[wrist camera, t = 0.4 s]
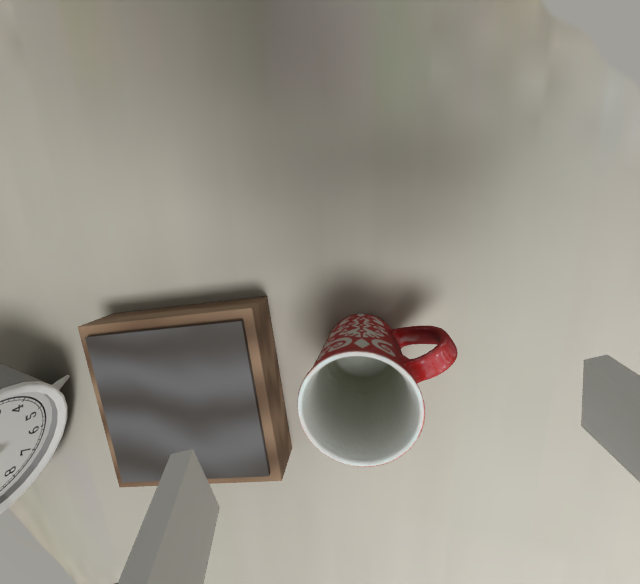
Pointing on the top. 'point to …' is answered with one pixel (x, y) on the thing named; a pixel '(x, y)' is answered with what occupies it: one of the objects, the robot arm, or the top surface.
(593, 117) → the top surface
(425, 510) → the top surface
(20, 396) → the alarm clock
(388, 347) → the mug
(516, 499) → the top surface
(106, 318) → the walnut stand
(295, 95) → the top surface
